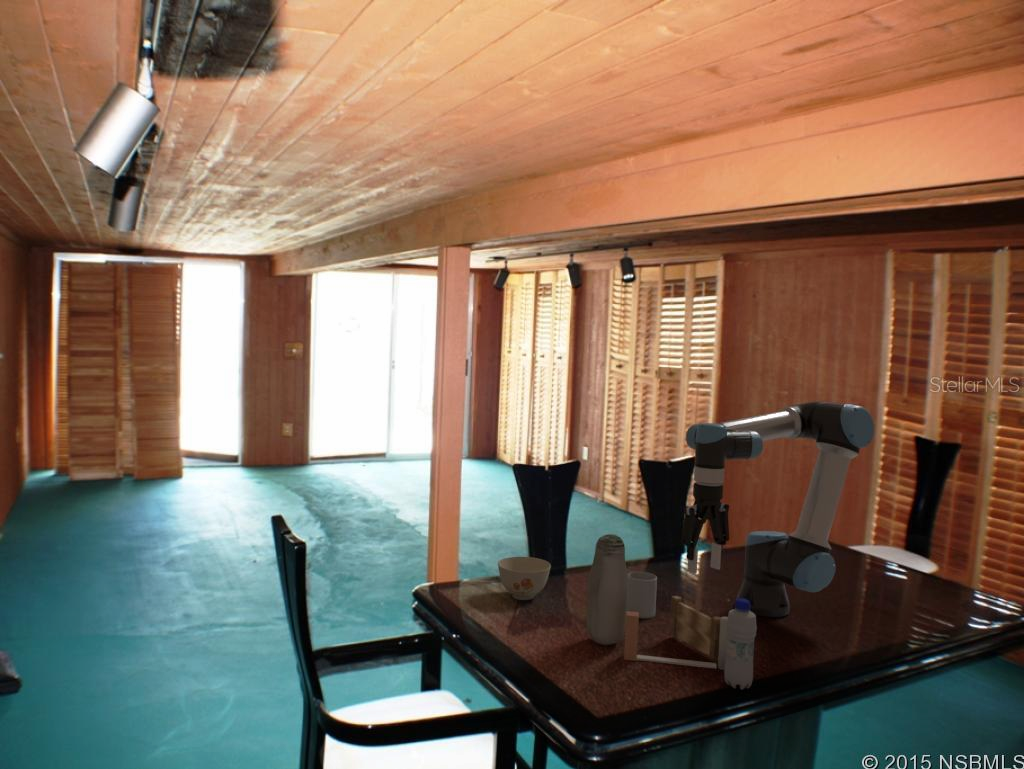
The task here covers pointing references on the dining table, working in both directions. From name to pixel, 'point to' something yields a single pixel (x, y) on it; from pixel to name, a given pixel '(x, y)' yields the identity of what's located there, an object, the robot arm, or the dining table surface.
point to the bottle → (740, 645)
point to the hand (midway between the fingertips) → (703, 569)
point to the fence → (631, 654)
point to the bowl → (523, 576)
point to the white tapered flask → (607, 591)
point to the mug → (642, 594)
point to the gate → (695, 627)
